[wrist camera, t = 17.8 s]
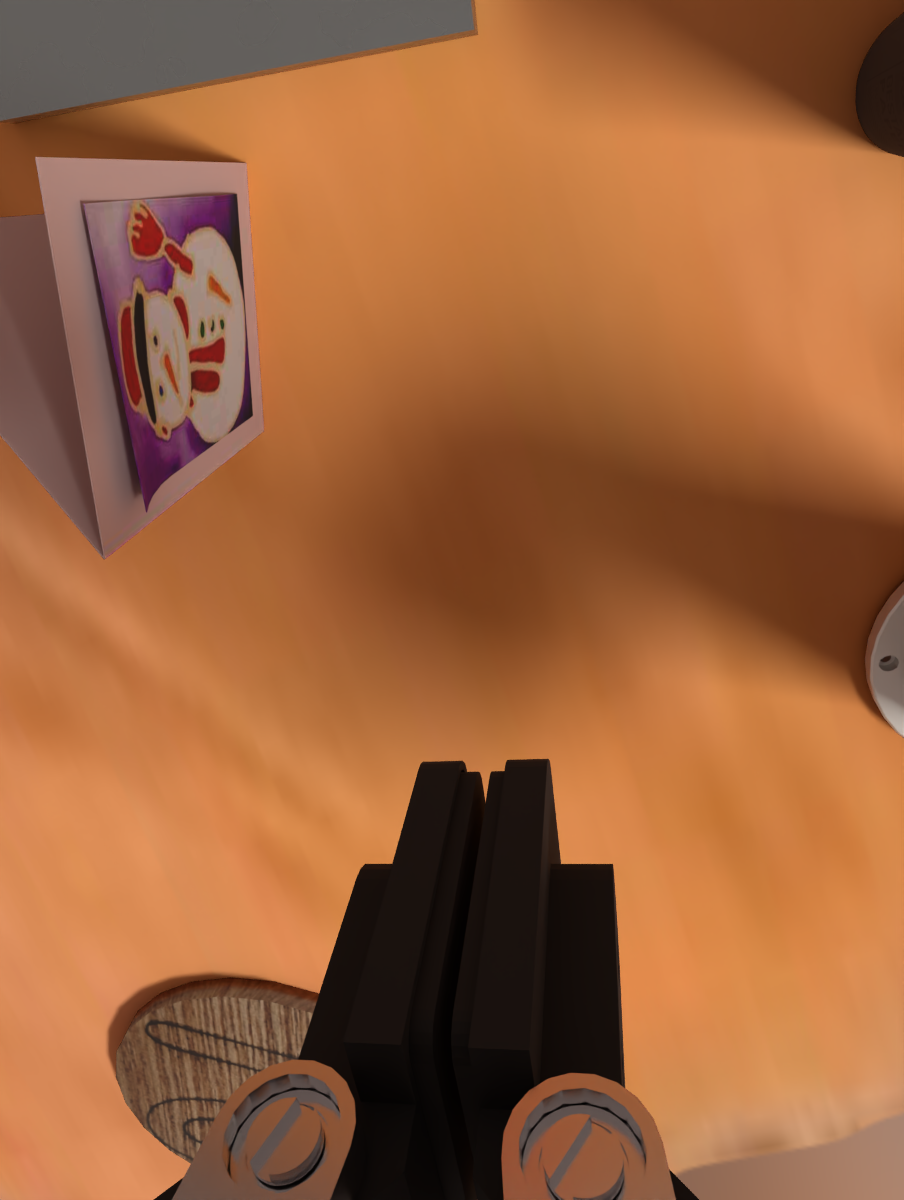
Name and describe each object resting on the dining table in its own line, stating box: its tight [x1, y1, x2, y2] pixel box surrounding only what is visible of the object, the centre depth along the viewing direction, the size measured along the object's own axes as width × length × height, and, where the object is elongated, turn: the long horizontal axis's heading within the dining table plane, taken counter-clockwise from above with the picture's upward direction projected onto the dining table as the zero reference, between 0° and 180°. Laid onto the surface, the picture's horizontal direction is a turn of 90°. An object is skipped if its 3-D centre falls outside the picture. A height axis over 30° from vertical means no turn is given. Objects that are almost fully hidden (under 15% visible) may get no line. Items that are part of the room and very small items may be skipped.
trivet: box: [116, 978, 319, 1163], centre depth 64 cm, size 25×25×2 cm
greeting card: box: [0, 157, 264, 559], centre depth 31 cm, size 11×7×15 cm, turn 177°
